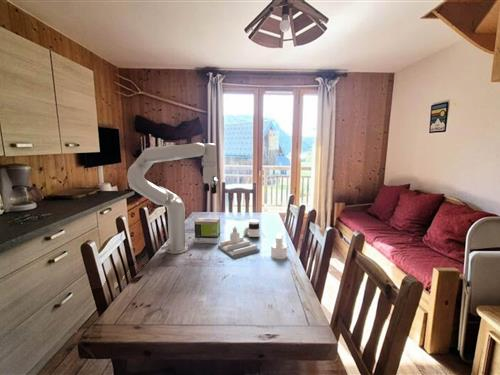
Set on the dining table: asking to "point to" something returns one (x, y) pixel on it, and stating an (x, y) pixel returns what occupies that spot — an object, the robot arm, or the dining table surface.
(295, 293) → the dining table surface
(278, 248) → the base with upright slab
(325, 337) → the dining table surface
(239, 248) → the grey board with rails
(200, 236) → the tea box
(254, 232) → the spread jar
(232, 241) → the eye dropper bottle
